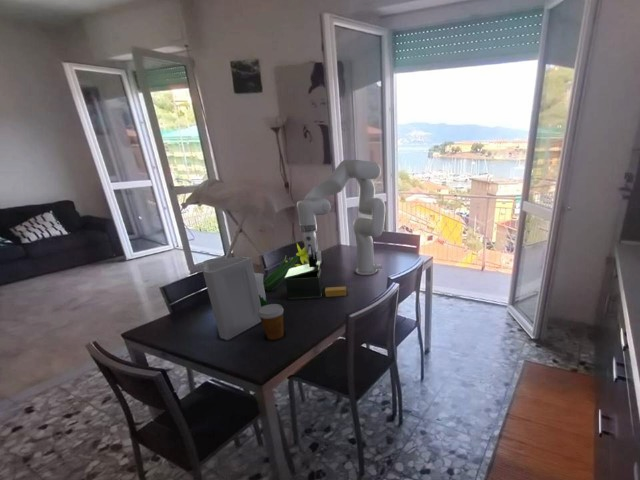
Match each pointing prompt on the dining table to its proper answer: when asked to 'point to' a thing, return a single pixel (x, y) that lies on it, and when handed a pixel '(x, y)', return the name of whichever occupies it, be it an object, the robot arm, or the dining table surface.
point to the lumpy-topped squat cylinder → (317, 257)
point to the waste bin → (305, 286)
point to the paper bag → (232, 294)
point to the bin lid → (302, 270)
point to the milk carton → (261, 289)
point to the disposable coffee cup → (272, 320)
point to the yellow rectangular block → (335, 291)
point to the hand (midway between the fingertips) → (313, 264)
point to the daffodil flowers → (284, 269)
